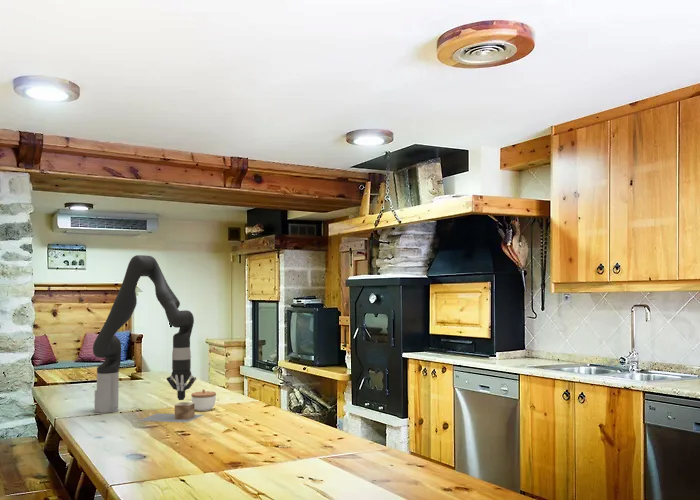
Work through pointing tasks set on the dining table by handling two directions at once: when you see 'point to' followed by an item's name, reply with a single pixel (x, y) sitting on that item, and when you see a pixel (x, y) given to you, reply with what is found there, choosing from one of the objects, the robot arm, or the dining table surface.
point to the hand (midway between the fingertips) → (181, 399)
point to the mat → (166, 418)
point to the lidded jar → (204, 400)
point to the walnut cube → (185, 410)
